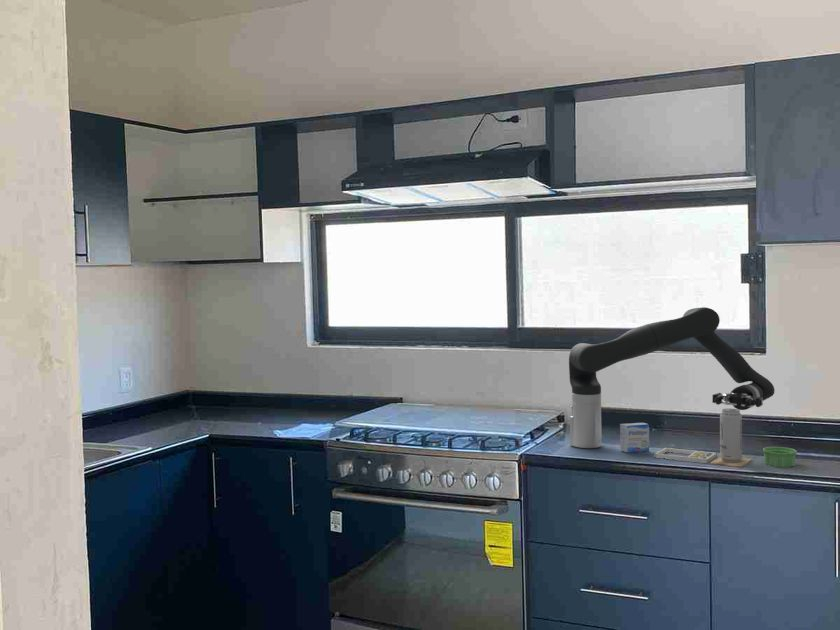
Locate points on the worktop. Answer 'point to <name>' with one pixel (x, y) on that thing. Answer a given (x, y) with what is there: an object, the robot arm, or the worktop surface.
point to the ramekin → (779, 456)
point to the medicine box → (634, 437)
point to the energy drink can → (731, 435)
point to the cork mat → (734, 464)
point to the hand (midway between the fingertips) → (731, 402)
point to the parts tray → (694, 457)
